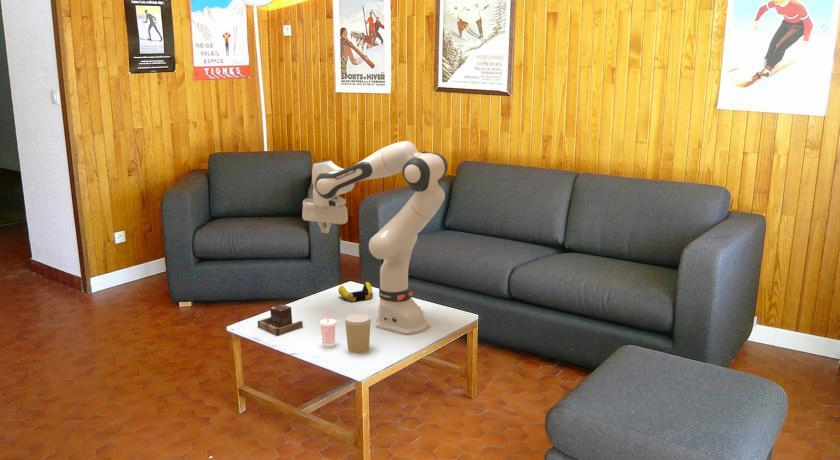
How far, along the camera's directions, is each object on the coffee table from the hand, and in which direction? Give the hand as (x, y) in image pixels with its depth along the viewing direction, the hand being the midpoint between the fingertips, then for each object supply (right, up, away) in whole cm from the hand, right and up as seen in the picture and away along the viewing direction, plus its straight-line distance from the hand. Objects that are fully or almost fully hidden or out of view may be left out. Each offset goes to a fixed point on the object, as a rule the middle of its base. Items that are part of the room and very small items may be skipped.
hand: (325, 232), depth 302 cm
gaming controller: (+11, -29, +20) cm, 37 cm away
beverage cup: (+5, -42, -30) cm, 51 cm away
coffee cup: (+16, -43, -33) cm, 57 cm away
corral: (-16, -37, -13) cm, 42 cm away
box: (-16, -37, -10) cm, 41 cm away
